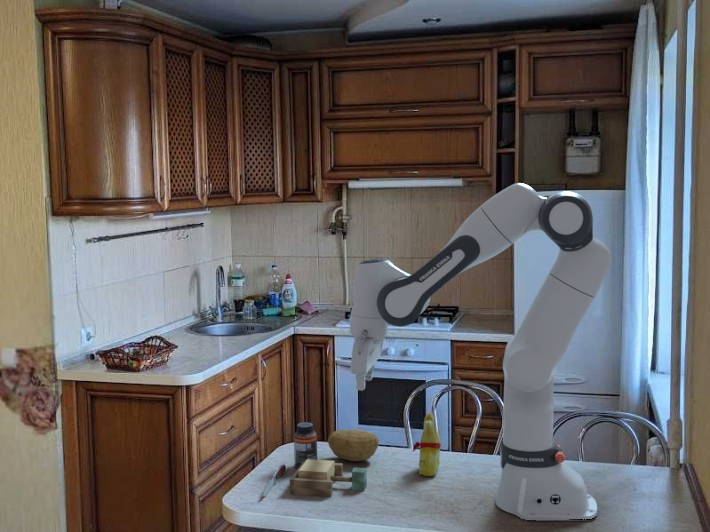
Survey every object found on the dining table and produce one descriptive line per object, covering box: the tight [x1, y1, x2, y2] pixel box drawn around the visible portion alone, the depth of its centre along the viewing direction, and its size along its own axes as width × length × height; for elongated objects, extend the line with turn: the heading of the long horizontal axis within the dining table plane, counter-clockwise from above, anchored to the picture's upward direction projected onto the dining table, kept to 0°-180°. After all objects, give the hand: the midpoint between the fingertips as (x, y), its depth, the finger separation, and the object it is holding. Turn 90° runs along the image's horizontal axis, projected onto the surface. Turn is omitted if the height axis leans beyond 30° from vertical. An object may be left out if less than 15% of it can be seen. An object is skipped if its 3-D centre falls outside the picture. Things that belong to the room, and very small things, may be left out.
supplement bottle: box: [293, 421, 318, 470], centre depth 212 cm, size 6×6×11 cm
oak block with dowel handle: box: [298, 459, 368, 492], centre depth 198 cm, size 16×8×5 cm, turn 78°
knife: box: [262, 464, 287, 497], centre depth 200 cm, size 20×1×3 cm, turn 171°
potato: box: [327, 429, 380, 462], centre depth 217 cm, size 10×14×8 cm
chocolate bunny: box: [412, 412, 442, 477], centre depth 208 cm, size 7×11×15 cm, turn 167°
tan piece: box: [289, 461, 344, 498], centre depth 199 cm, size 10×13×4 cm
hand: (364, 384), depth 193 cm, fingers open, 8 cm apart
